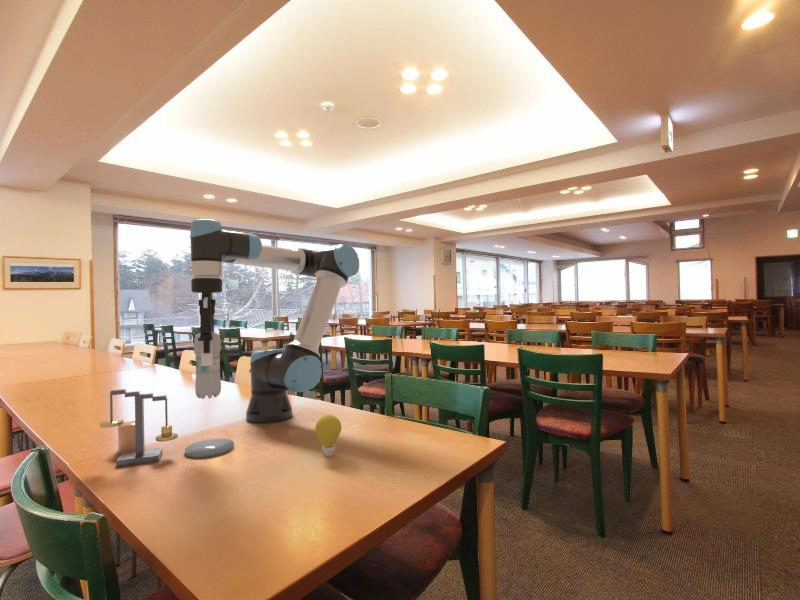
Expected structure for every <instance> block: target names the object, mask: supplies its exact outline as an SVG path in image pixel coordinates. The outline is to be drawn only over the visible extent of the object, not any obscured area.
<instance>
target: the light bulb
mask: <svg viewBox="0 0 800 600" xmlns="http://www.w3.org/2000/svg"><path fill="white" fill-rule="evenodd" d="M314 431H315V434H316V435H317V439H318V440H319V441H320V442H321V443H322V444H323V445H322V452H323V454H324V456H326V457H329V456H333V455H334V451H336V445H335V443H337V440H338V438H339V436H340V433H341V432H342V424H341V421H340V419H339V418H338V417H336V416H335V415H333V414H326V415H323V416H321V417H320V418H319V419H318V420H317V422H316V424H315V427H314Z"/></svg>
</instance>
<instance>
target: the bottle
mask: <svg viewBox="0 0 800 600" xmlns="http://www.w3.org/2000/svg"><path fill="white" fill-rule="evenodd" d="M199 330H200V329H199ZM213 331H214V332H213ZM200 335H201V330H200V331H199V333H197V334H196V335H195V337H194V345H193V353H194V354H195V385H194V387H195V388H194V389H195V391H194V392H195V396H196V398H199V399H201V400H202V399H203V400H204V399H205V398H206V397H208V399H211V398H212V396H213V398H217V397H218V396H220V394H221V393H222V392H221V391H222V382H221V381H222V380H221V363H220V362H221V358H220V357H221V355H220V353H221V351H222V349H221V347H222V344H221V336H220V334H219V333H217V332H216V331H215V324H214V325H213V324H212V340H213V365H211V366H201V341H198V338H200Z"/></svg>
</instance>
